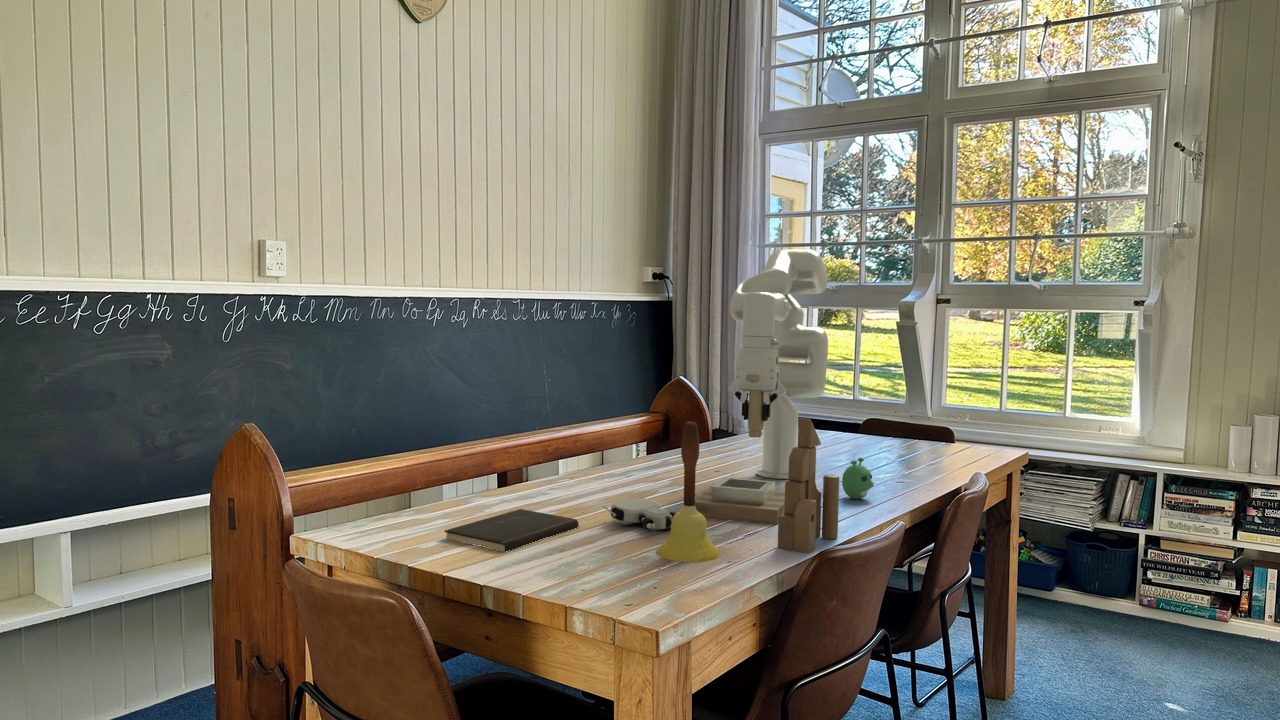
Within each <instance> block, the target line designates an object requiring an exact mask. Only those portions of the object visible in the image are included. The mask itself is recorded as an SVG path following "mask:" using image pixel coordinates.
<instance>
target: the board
mask: <svg viewBox="0 0 1280 720" xmlns="http://www.w3.org/2000/svg"><path fill="white" fill-rule="evenodd" d="M784 502H785V490H784V491H783V490H775V495H773V496H772V497H771V498H770V499H769V500H768V501H767V502H766V503H765V504H764V505H762V504H751V503H741V502H731V501H720V500H712V486H711V487H709V488H708V489H706V490H705V491H703V492H702V493H699V495H697V496H695V507H696V510H697V511H698V512H699V513H701V514H702V515H703V516H704V517H705V518H716V519H727V520H737V521H745V522H754V523H755V522H757V523H764V524H775V525H777V524H778V517H779V516H780V515H783V514H785V513H784Z"/></svg>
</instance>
